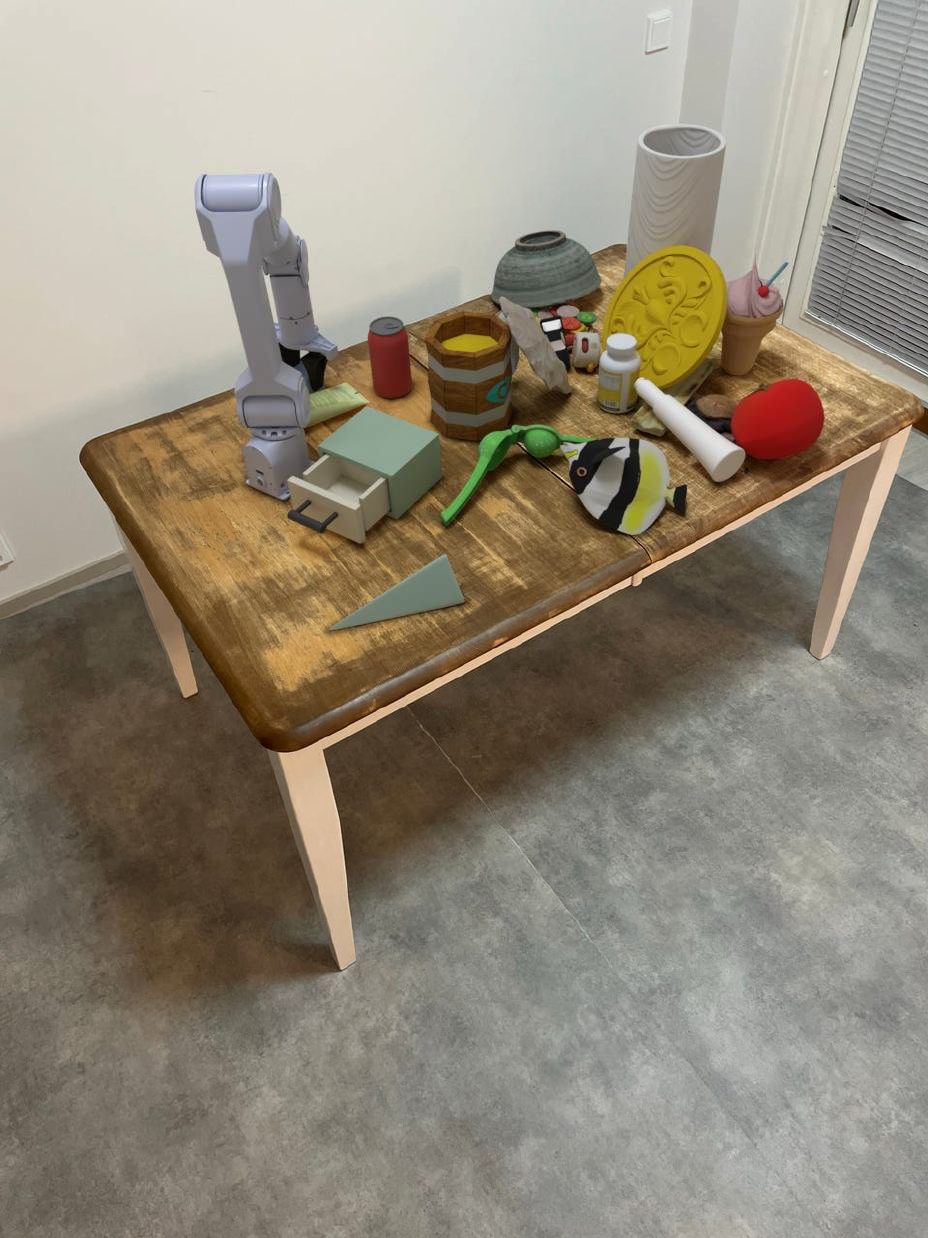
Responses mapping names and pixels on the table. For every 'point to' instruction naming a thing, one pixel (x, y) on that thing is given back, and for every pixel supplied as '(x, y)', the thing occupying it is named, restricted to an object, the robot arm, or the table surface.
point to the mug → (471, 374)
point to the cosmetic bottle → (693, 433)
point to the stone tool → (535, 345)
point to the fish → (622, 481)
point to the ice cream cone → (748, 319)
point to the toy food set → (568, 320)
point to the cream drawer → (339, 498)
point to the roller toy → (586, 350)
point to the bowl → (545, 271)
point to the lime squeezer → (494, 449)
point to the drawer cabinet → (389, 454)
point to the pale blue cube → (307, 378)
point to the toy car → (556, 338)
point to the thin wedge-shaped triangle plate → (411, 595)
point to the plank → (680, 392)
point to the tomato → (778, 419)
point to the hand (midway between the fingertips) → (307, 384)
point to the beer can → (389, 357)
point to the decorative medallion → (670, 312)
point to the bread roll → (715, 413)
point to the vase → (674, 190)
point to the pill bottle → (618, 374)
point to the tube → (334, 402)
